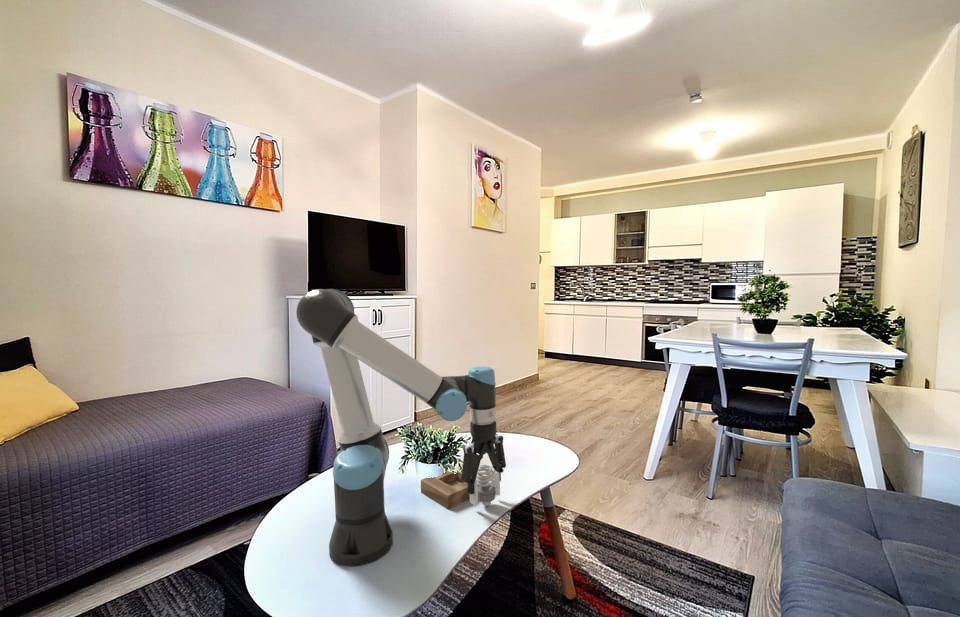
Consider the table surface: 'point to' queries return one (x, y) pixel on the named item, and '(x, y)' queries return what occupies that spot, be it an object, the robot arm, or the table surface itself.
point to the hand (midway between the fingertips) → (485, 498)
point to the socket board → (447, 489)
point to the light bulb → (486, 490)
